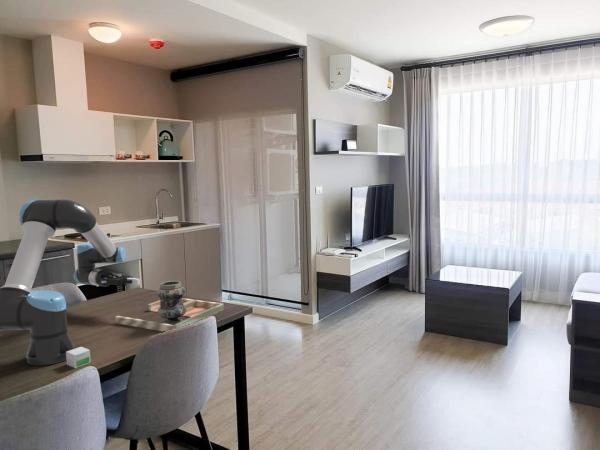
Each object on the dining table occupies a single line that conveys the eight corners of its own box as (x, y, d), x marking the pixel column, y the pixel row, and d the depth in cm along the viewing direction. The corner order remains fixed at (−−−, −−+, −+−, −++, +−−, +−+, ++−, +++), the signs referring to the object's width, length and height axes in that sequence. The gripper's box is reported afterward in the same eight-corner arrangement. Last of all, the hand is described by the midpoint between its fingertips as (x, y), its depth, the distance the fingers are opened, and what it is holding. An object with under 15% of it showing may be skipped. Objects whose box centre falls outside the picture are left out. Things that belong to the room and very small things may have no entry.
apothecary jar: (182, 317, 208) (180, 278, 205) (191, 324, 197) (189, 283, 195) (155, 322, 201) (152, 281, 199) (162, 330, 191) (160, 287, 189)
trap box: (115, 323, 201) (115, 316, 201) (170, 302, 232) (169, 296, 231) (174, 333, 187) (174, 326, 187) (223, 309, 218) (223, 303, 217)
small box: (75, 369, 155) (74, 355, 154) (66, 365, 158) (65, 351, 158) (91, 363, 160) (90, 349, 159) (82, 359, 163) (81, 346, 162)
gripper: (113, 282, 224) (149, 287, 213) (90, 288, 212) (128, 293, 202) (112, 267, 223) (149, 271, 213) (89, 272, 211) (127, 276, 201)
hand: (138, 282), depth 207 cm, fingers closed
